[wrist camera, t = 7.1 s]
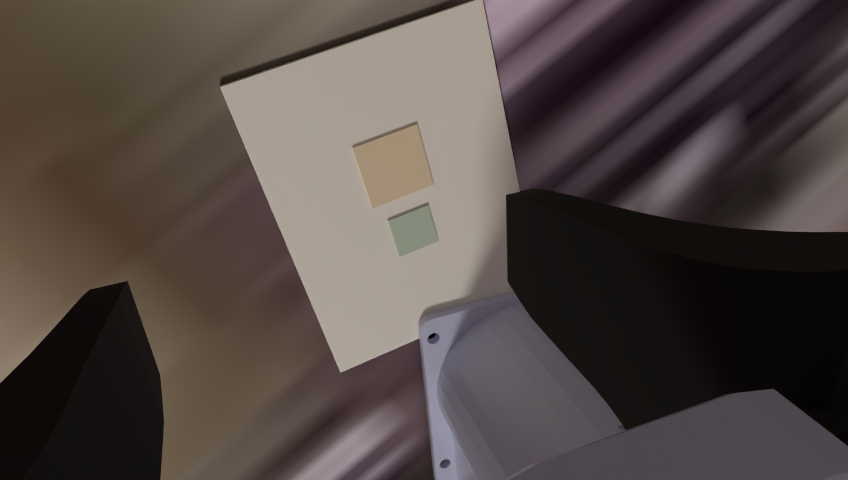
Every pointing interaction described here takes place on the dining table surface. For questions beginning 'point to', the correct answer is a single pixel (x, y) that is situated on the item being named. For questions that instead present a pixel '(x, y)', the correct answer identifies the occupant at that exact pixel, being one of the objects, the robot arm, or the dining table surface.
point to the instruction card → (386, 175)
